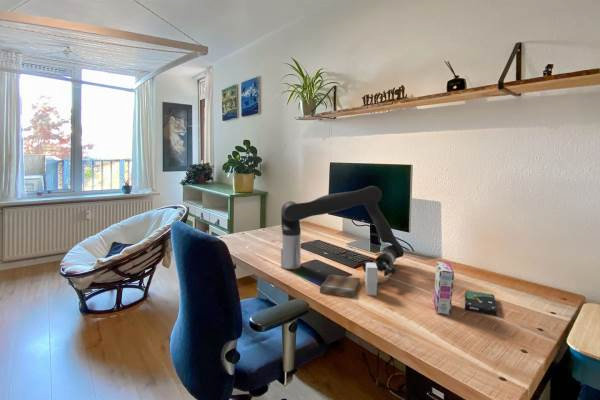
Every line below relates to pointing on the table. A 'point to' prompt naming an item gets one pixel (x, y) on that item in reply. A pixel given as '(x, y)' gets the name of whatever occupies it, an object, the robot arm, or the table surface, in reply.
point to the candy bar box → (443, 288)
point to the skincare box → (371, 279)
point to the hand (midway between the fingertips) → (375, 272)
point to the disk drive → (480, 303)
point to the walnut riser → (340, 285)
